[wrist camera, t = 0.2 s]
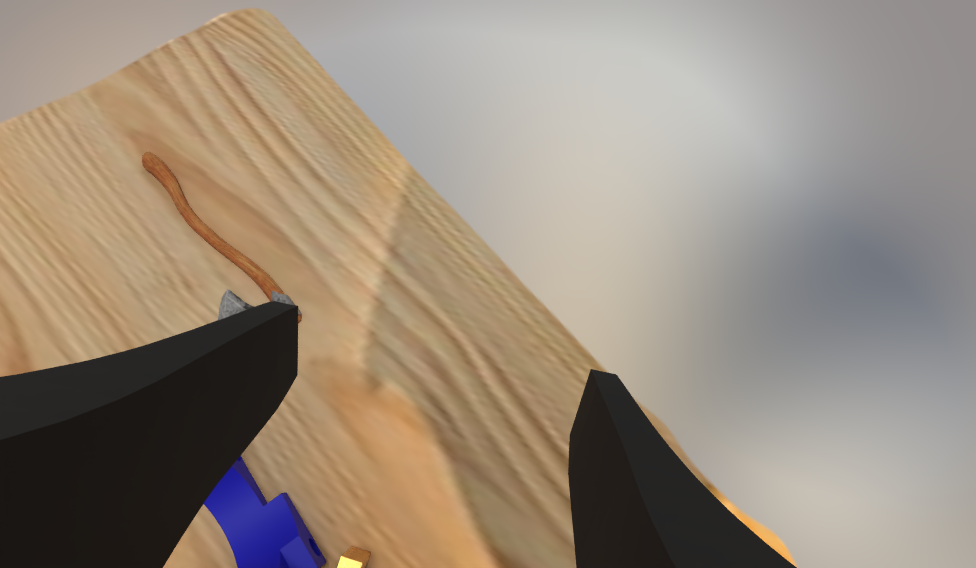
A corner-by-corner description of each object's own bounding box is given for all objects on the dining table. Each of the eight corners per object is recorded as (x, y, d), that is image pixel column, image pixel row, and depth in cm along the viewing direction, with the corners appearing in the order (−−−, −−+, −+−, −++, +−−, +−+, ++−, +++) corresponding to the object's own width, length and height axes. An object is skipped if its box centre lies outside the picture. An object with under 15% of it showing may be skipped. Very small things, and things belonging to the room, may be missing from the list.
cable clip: (327, 561, 37) (307, 577, 32) (272, 604, 36) (241, 629, 30) (249, 428, 40) (219, 421, 34) (196, 463, 39) (155, 462, 33)
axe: (93, 194, 46) (81, 184, 44) (158, 157, 48) (150, 146, 46) (244, 369, 42) (238, 364, 40) (308, 319, 44) (304, 313, 43)
